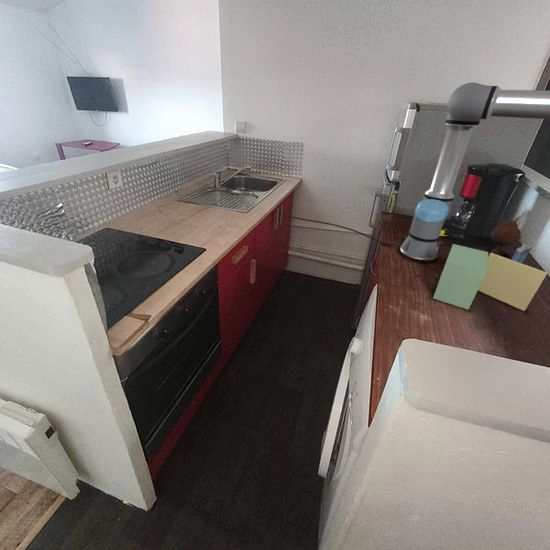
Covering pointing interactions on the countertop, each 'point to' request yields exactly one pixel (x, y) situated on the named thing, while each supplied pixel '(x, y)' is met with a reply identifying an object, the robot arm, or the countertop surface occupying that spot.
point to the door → (511, 281)
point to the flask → (521, 253)
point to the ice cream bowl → (505, 236)
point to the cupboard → (461, 276)
